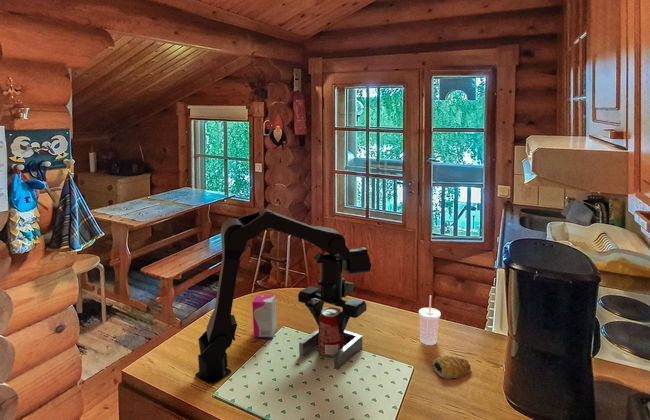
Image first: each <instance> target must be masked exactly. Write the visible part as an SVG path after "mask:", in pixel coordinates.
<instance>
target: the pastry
mask: <svg viewBox="0 0 650 420" xmlns="http://www.w3.org/2000/svg"><path fill="white" fill-rule="evenodd" d="M431 366H432V367H433V370H434V372H435V373H437V374H438V375H439V377H441V378H444V379H446V380H451V379H454V378H455V379H457V378H460V377H463V376H465V375H467V374H469V372H470V371H471V364H470V363H469V361H468V360H467V359H464V358H463V357H462V358H460V357H458V356H456V357H455V356H452V355H451V356H449V355H444V356H442V355H441V356H440V355H439V357H437V358H435V359H434V360H433V362H432V364H431Z"/></svg>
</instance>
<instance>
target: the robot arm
mask: <svg viewBox="0 0 650 420" xmlns="http://www.w3.org/2000/svg"><path fill="white" fill-rule="evenodd" d="M268 229H272V230H275V231H277V232H279V233H283V234H286V235H290V236H292V237H295V238H298V239H301V240H303V241H306V242H309V243H311V244H312V245H314V246H316V247H317V248H319V249H320V250H322V251H324V252H326V253H322V252H321V251H318V252H317V253H316V254H315V255H314V256H313V257H312V260H313V261H314V262H315V263H317V264H320V279H319V280H318V281H317V285H318V286H320V288H319V287H315V286H310V285H309V286H307V287H305V288H303V289H301V290H300V291H299V292H298V294H297V302H298V303H299V302H300V303H302V304H304V305H305V307H307V309H308V310H309V312H310V313H311V315H312V317H313V318H314V320H315V322H316V324H317V326H318V327H319V316H320V314H321V310H322V309H324V308H323V307H324V304H328V305H332V306H336V307H337V308H338V307H339V308H341V313H339V314H338V321H339V331H340V334H343V333H344V330H346V327H347V326H348V323H349V320H350V318H352V319H355V318H358V317H359V316H362V315H363V314H364V312H366V311H367V303H366V301H365V300H363V299H359V298H356V297H352V298H351V299H349V300H345V299H343V298H346V297H347V296H348V295H353V290H354V285H355V283H354V282H350V281H346V279H345V278H344V277H343V272H346V274H347V275H359V274H365V273H366V274H367V273H370V272H371V269H372V262H371V259H370V255H369V252H368V251H369V250H368V248H366V247H364V246H363V247H358V248H352V249H349V248H348V247H347V245H346V238H345V237H344V235H342V234H341V233H340V232H339V231H337V230H335V229H334V228H332V227H326V226H322V225H321V226H319V225H317V226H316V225H309V223H308V224H307V223H304V222H302V221H299V220H297V219H294V218H290V217H289V216H285V215H283V214H280V213H277V212H275V211H272V210H271V209H269V208H262V209H260V210H258V211H256V212H253V213H249V214H247V215H243V216H241V217H238V218H230V219H227V220H226V221H224V222H223V223H222V224H221V227H220V240H221V243H220V244H221V250H222V251H221V252H222V256H221V264H220V272H219V278H218V284H217V292H216V298H215V305H214V310H213V312H212V313H211V315H210V317H209V320H208V323H207V325H206V328H205V329H206V330H205V331H204V332H203V333H202V335H201V336H200V337H198V339H197V340H198V348H199V354H198V355H197V361H198V372H196V373H195V377H196V378H198V379H200V380H202V381H204V382H206V383H208V384H211V385H214V384H215V383H217V382H218V381H220V380H222V379H223V378H225V377H226V376H228V375H229V374H230V373H231V374H232V370H231V369H230V368H228V355H227V354H228V353H227V349H228V348H231V346H232V344H233V341H236V337H235V335H236V331H237V328H238V324H237V323H238V322H237V320H236V317H235V314H232V309H233V303H234V302H233V301H234V297H235V289H236V284H237V282H236V281H237V275H238V270H239V264H240V263H239V262H240V260H241V258H242V256H243V253H244V252H245V250H246V247H247V244H248V241H250V240H251V239H254V238H255V237H257V236H259V235H260V234H261V233H263V232H264V231H266V230H268Z"/></svg>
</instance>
